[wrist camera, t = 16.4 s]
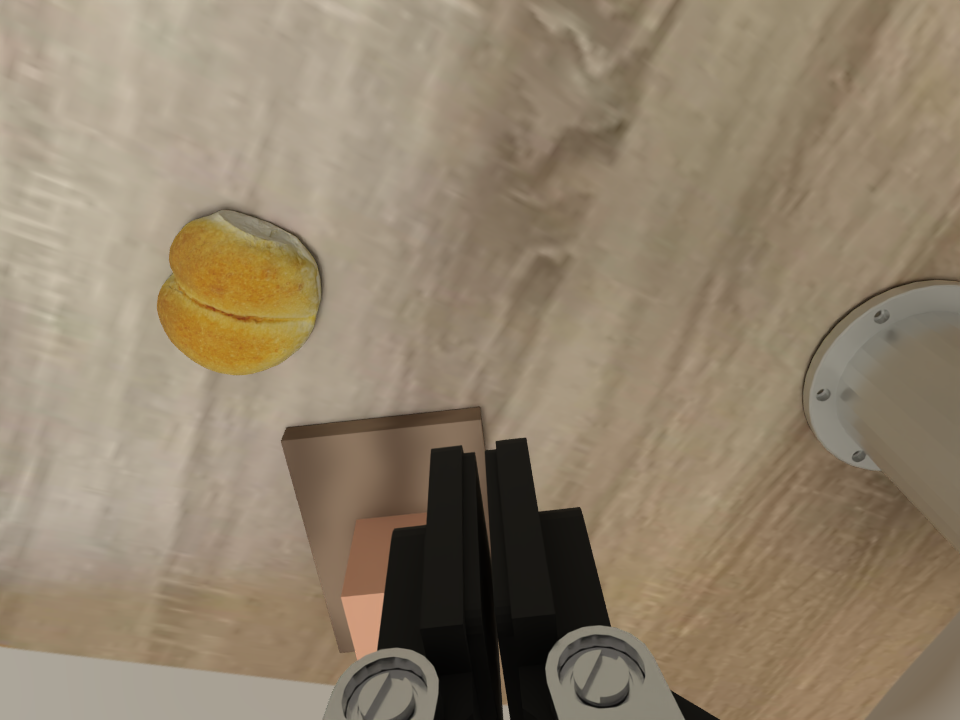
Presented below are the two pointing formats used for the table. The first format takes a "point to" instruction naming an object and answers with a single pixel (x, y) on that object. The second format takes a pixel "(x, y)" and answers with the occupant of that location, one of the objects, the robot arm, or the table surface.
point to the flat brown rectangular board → (369, 482)
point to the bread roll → (238, 293)
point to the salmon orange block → (370, 577)
